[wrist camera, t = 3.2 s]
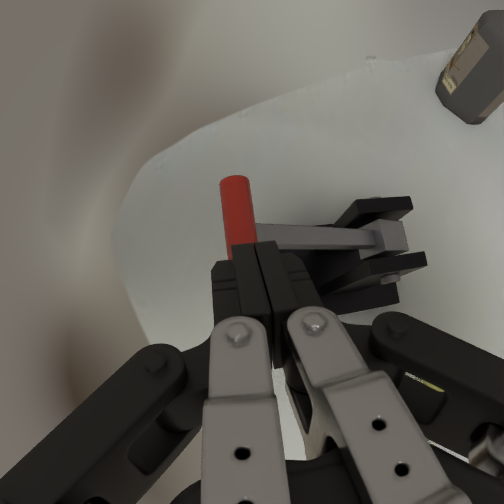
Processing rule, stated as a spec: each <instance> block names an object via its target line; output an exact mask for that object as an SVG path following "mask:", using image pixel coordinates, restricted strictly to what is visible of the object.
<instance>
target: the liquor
mask: <svg viewBox="0 0 504 504" xmlns="http://www.w3.org/2000/svg"><path fill="white" fill-rule="evenodd" d="M436 94H437V96H438V97H439V99H440V101H441V102H442V104H443V106H445V107H446V108H447V109H449V110H450V111H451V112H453V113H454V114H455V115H457V116H458V117H459V118H460V119H462V120H463V121H464V122H466V123H467V124H480V123H482V122H483V121H484V120H485V119H486V118H487V117H488V116H489V115H490V114H491V113H492V112H493V111H494V110H495V109H496V108H497V107H498V106H499V105H500V104H501V103H503V102H504V10H489V11H487V12H485V13H483V14H482V16H481V17H480V19H479V20H478V22H477V23H476V25H475V26H474V28H473V29H472V31H471V32H470V33H469V35H468V36H467V37H466V39H465V40H464V42H463V43H462V45H461V46H460V47H459V49H458V50H457V52H456V53H455V54H454V56H453V57H452V59H451V60H450V61H449V63H448V64H447V66H446V67H445V68H444V70H443V71H442V72H441V75H440V78H439V82H438V85H437V88H436Z"/></svg>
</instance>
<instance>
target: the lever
mask: <svg viewBox="0 0 504 504" xmlns="http://www.w3.org/2000/svg"><path fill="white" fill-rule="evenodd" d="M219 185H220V194H221V203H222V212H223V221H224V230H225V238H226V247H227V255H228V260H232V255H231V245H235V244H244V243H252V244H253V243H254V242H261V241H270V240H275V241H276V243H277V246H278V248H279V249H359V254H360V259H361V260H369V259H376V258H383V257H390V256H395V255H398V254H401V253H404V252H407V251H409V248H408V244H407V240H406V235H405V231H404V227H403V223H402V221H395V220H386V219H377V220H375V221H373V222H371V223H368V224H366V225H364V226H362V227H360V228H358V229H350V228H334V227H317V226H299V225H280V224H259V223H255V217H254V210H253V203H252V197H251V190H250V183H249V179H248V178H247V177H245V176H241V175H234V176H229V177H226V178H224V179H222V180H221V181H220V184H219Z"/></svg>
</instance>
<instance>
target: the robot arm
mask: <svg viewBox="0 0 504 504" xmlns="http://www.w3.org/2000/svg"><path fill="white" fill-rule="evenodd" d="M231 255H232V260H224V261H217V262H216V264H215V265H214V267H213V268H212V270H211V280H212V297H213V313H214V329H213V330H212V333H211V335H210V337H209V338H208V339H207V340H206V341H205V342H203V343H202V344H200V345H199V346H196V347H194V348H192V349H189V350H186V351H183V352H180V351H179V350H178V349H177V348H176V347H174V346H172V345H168V344H152V345H149V346H146V347H144V348H143V349H141V350H139V351H138V352H137V353H136V354H135V355H134V356H132V357H131V358H130V359H129V360H128V361H127V362H126V363H125V364H124V365H123V366H122V367H121V368H119V369H118V370H117V371H116V372H115V373H114V374H113V375H112V376H111V377H110V378H109V379H107V380H106V381H105V382H104V383H103V384H102V385H101V386H100V387H99V388H98V389H97V390H96V391H95V392H93V393H92V394H91V395H90V396H89V397H88V398H87V399H86V400H85V401H84V402H83V403H82V404H81V405H79V406H78V407H77V408H76V409H75V410H74V411H73V412H72V413H71V414H70V415H69V416H68V417H67V418H66V419H64V420H63V421H62V422H61V423H60V424H59V425H58V426H57V427H56V428H55V429H54V430H53V431H51V432H50V433H49V434H48V435H47V436H46V437H45V438H44V439H43V440H42V441H41V442H40V443H38V444H37V445H36V446H35V447H34V448H33V449H32V450H31V451H30V452H29V453H28V454H27V455H26V456H25V457H23V458H22V459H21V460H20V461H19V462H18V463H17V464H16V465H15V466H14V467H13V468H12V469H11V470H10V471H8V472H7V473H6V474H5V475H4V476H3V477H2V478H1V479H0V504H136V503H137V502H138V501H139V500H140V499H141V497H142V496H143V495H144V494H145V493H146V492H147V491H148V490H149V489H150V488H151V486H152V485H153V484H154V483H155V482H156V481H157V480H158V479H159V478H160V476H161V475H162V474H163V473H164V472H165V470H167V468H168V467H169V466H170V465H171V464H172V463H173V461H174V460H175V459H176V458H177V457H178V456H179V455H180V453H181V452H182V451H183V450H184V449H185V448H186V446H187V445H188V444H189V443H190V442H191V440H192V439H193V438H194V437H195V436H196V434H197V433H198V432H199V431H200V429H201V427H202V455H201V456H202V457H201V480H199V481H197V482H196V483H194V484H192V485H190V486H189V487H187V488H186V489H185V490H183V491H182V492H181V493H180V494H179V495H178V496H177V497H175V499H174V500H173V501H172V502H171V503H170V504H504V359H502V358H500V357H497V356H495V355H493V354H491V353H489V352H487V351H484V350H482V349H480V348H478V347H476V346H474V345H472V344H469V343H467V342H465V341H463V340H461V339H459V338H456V337H454V336H452V335H450V334H448V333H446V332H443V331H441V330H439V329H437V328H435V327H433V326H430V325H428V324H426V323H424V322H422V321H420V320H417V319H415V318H413V317H411V316H409V315H406V314H404V313H400V312H385V313H382V314H380V315H378V316H377V317H376V318H375V319H374V320H373V323H372V326H370V325H353V324H347V323H343V322H341V321H340V319H339V318H338V317H337V315H336V314H335V313H333V312H332V311H330V310H328V309H326V308H324V306H323V303H322V301H321V299H320V297H319V295H318V293H317V291H316V289H315V286H314V284H313V282H312V280H310V276H309V274H308V272H307V270H306V268H305V265H304V263H303V261H302V260H301V259H300V258H298V257H297V256H296V255H294V254H293V253H284V254H281V253H280V251H279V248H278V246H277V243H276V241H275V240H270V241H261V242H254V243H253V244H252V243H244V244H235V245H231ZM272 361H273V366H274V369H277V368H283V369H284V373H285V389H286V392H287V395H288V398H289V401H290V404H291V406H292V409H293V412H294V415H295V418H296V420H297V423H298V426H299V429H300V431H301V434H302V437H303V441H304V445H305V454H306V459H307V460H306V461H304V460H285V456H284V448H283V441H282V433H281V425H280V418H279V410H278V403H277V398H276V395H275V394H274V388H273V380H272V373H271V369H272ZM406 372H408V373H410V374H412V375H414V376H416V377H418V378H420V379H422V380H424V381H426V382H428V383H430V384H432V385H434V386H436V387H438V388H440V389H442V390H444V392H440V391H437V390H435V389H432V388H430V387H428V386H426V385H424V384H422V383H420V382H418V381H416V380H415V379H413V378H411V377H409V376H407V375H405V373H406ZM426 438H427V439H429V440H431V441H433V442H435V443H437V444H439V445H441V446H443V447H445V448H447V449H449V450H451V451H453V452H455V453H458V454H460V455H462V456H464V457H466V458H468V460H469V463H467V462H465V461H463V460H461V459H459V458H457V457H455V456H453V455H451V454H449V453H447V452H446V451H444V450H442V449H440V448H438V447H436V446H434V445H432V444H429V443H428V441H427V440H426Z"/></svg>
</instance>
